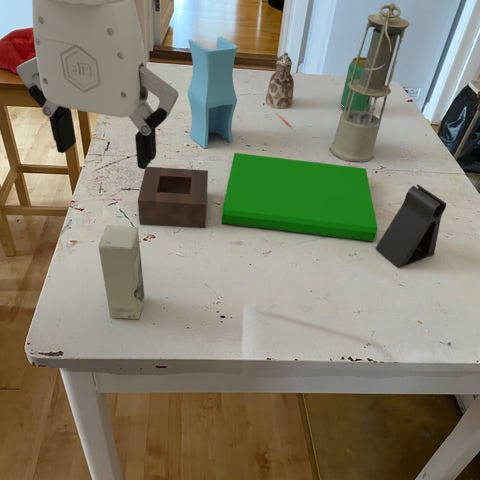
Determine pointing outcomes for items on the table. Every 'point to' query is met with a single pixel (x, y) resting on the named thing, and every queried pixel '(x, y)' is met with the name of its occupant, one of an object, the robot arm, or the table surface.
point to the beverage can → (358, 99)
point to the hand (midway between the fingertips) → (106, 155)
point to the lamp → (370, 87)
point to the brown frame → (173, 197)
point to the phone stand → (413, 228)
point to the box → (122, 271)
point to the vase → (212, 91)
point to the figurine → (281, 84)
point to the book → (299, 197)
